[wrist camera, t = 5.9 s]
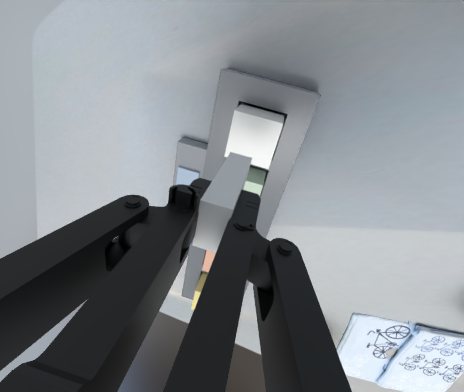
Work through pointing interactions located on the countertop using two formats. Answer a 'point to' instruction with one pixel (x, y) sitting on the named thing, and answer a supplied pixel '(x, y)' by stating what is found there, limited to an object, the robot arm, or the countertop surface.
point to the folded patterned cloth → (401, 354)
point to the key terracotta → (208, 260)
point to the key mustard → (199, 289)
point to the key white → (254, 134)
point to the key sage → (255, 180)
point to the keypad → (212, 158)
